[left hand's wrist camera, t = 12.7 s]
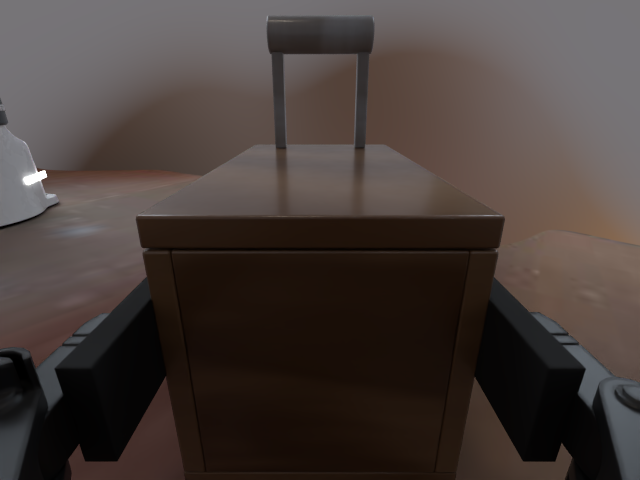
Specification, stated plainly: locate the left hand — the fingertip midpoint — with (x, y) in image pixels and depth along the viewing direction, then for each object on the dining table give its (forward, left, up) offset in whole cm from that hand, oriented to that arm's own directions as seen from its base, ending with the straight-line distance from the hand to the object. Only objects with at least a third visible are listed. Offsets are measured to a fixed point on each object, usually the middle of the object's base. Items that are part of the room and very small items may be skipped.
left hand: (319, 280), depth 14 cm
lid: (+4, -3, +3) cm, 6 cm away
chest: (+4, -3, -6) cm, 8 cm away
